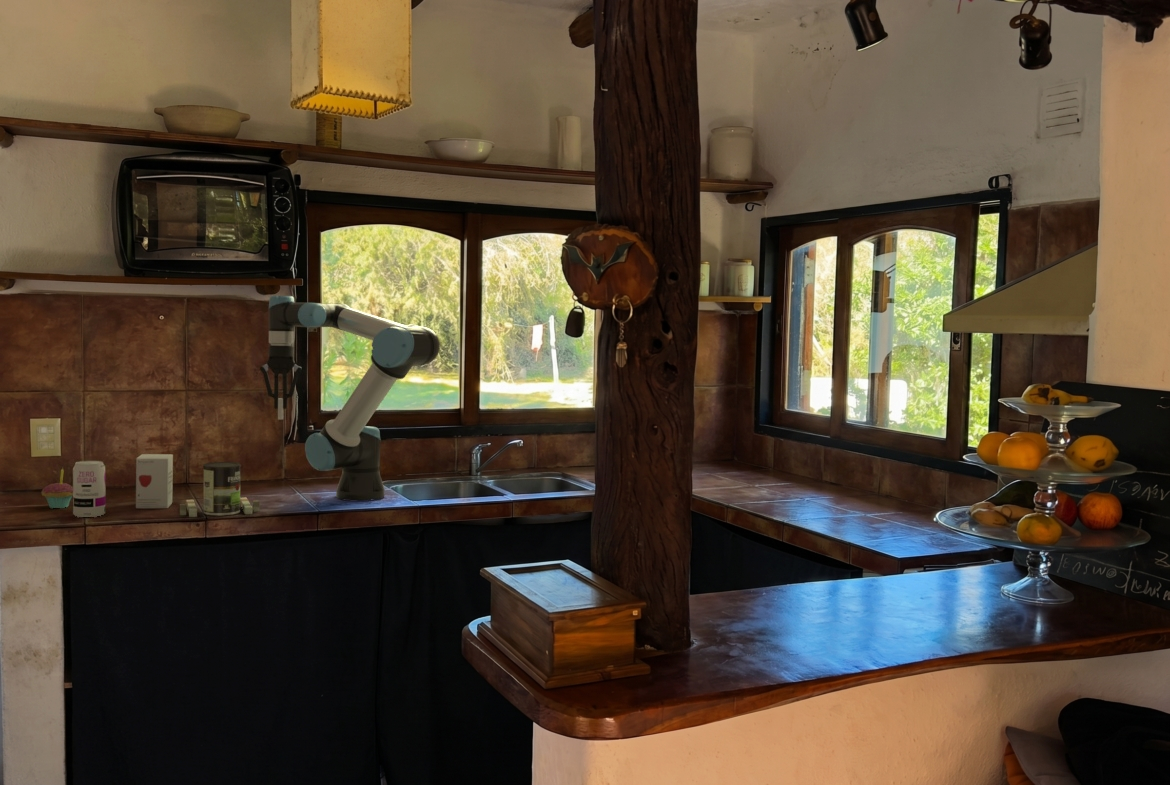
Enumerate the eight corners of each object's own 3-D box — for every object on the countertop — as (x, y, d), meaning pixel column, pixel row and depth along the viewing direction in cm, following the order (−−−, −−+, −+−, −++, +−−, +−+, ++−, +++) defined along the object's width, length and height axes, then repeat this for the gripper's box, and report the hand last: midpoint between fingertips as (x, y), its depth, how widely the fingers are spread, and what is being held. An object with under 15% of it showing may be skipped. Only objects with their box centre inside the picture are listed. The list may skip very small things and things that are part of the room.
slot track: (178, 506, 303) (178, 496, 303) (254, 503, 312) (254, 493, 311) (180, 517, 288) (180, 507, 288) (260, 513, 297) (260, 503, 297)
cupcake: (81, 506, 299) (81, 465, 298) (55, 511, 292) (55, 469, 291) (60, 503, 303) (60, 463, 302) (34, 507, 295) (34, 466, 294)
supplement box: (134, 509, 298) (134, 458, 297) (141, 503, 307) (140, 453, 306) (168, 508, 300) (168, 458, 299) (173, 502, 309) (173, 453, 308)
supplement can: (99, 511, 293) (99, 459, 292) (109, 516, 287) (109, 463, 286) (69, 514, 287) (68, 461, 286) (78, 519, 281) (78, 465, 280)
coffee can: (247, 510, 301) (247, 462, 300) (228, 517, 291) (228, 467, 290) (215, 507, 303) (215, 460, 302) (195, 514, 293) (195, 465, 292)
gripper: (302, 344, 328) (302, 417, 330) (260, 343, 325) (259, 417, 327) (302, 345, 321) (301, 420, 323) (258, 344, 318) (258, 420, 319)
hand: (280, 419), depth 325 cm, fingers closed
